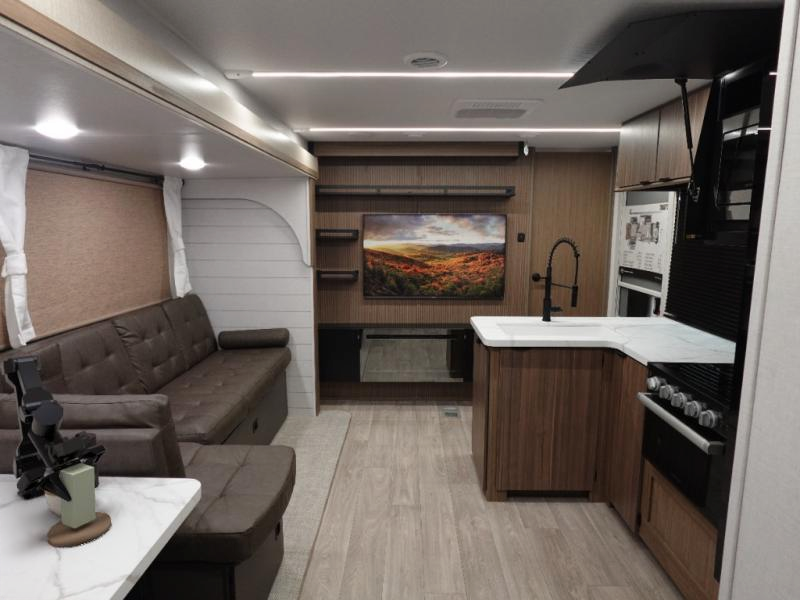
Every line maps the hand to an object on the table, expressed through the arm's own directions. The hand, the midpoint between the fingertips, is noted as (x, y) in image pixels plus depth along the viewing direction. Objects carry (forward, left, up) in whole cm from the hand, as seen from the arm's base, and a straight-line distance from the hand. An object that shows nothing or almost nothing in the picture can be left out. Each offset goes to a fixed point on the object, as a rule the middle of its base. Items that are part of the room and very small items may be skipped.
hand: (81, 495), depth 120 cm
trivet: (-1, 0, -9) cm, 10 cm away
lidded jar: (-14, +3, -10) cm, 18 cm away
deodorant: (-24, +11, -10) cm, 28 cm away
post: (-1, 0, -7) cm, 7 cm away
